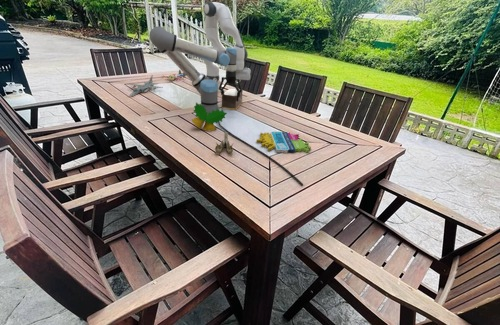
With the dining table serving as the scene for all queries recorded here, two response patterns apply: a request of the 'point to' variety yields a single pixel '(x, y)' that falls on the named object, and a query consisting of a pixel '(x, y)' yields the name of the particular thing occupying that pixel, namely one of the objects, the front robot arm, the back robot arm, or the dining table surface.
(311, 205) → the dining table surface
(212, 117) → the ornament
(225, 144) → the jawbone
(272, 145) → the multicolored flat piece
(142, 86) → the airplane
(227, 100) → the brown-grey rectangular block
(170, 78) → the toy
